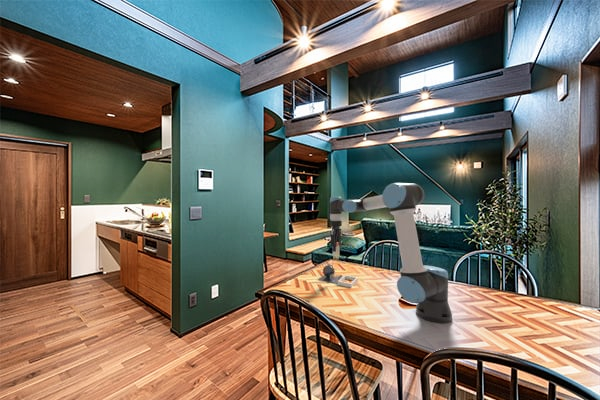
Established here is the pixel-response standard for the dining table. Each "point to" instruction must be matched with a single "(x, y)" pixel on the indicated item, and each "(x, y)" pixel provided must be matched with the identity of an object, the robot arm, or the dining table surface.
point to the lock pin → (337, 252)
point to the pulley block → (329, 275)
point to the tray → (346, 282)
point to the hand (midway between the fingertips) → (336, 255)
